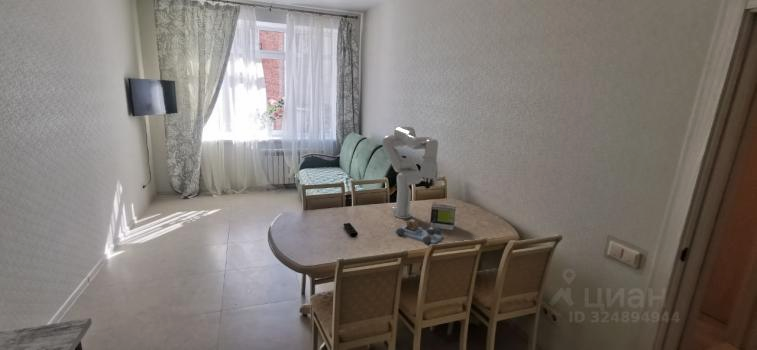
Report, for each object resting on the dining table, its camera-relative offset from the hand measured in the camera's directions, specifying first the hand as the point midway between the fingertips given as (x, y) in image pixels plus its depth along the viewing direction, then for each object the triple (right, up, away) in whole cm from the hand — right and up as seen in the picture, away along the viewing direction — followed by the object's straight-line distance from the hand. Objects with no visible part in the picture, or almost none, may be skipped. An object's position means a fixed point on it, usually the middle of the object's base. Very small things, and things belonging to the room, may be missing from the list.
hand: (427, 188), depth 222 cm
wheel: (+1, -28, -10) cm, 30 cm away
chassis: (-6, -29, -6) cm, 30 cm away
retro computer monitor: (+11, -26, +10) cm, 30 cm away
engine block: (-10, -26, -3) cm, 28 cm away
